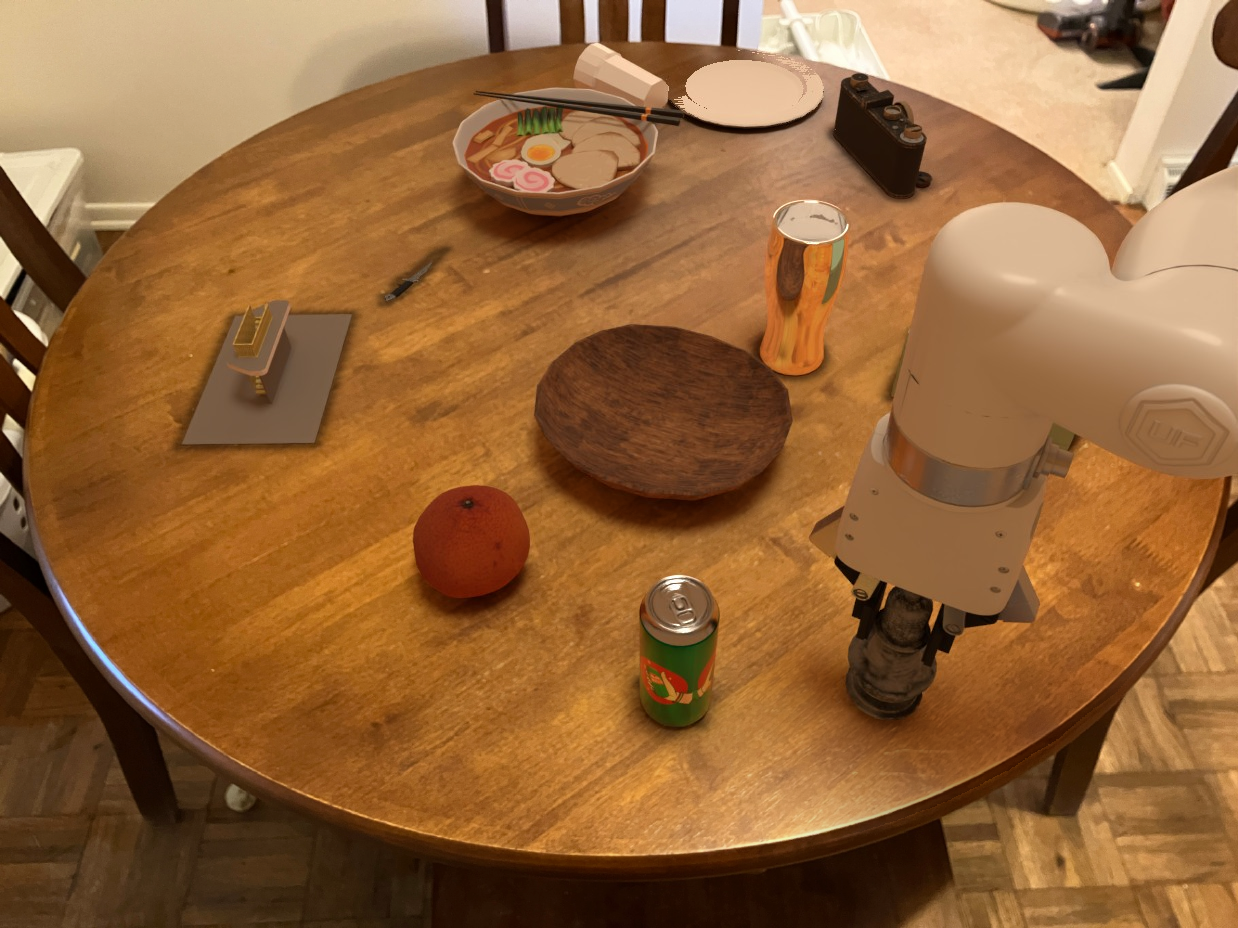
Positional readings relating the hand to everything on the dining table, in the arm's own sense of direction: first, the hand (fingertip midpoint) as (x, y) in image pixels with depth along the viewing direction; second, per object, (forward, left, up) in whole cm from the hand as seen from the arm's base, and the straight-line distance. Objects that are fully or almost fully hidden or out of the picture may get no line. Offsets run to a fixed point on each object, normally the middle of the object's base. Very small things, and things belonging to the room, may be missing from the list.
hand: (900, 633), depth 63 cm
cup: (+50, -65, -5) cm, 82 cm away
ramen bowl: (+53, -45, -8) cm, 70 cm away
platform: (+62, -6, -8) cm, 62 cm away
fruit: (+32, +4, -8) cm, 33 cm away
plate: (+43, -76, -8) cm, 88 cm away
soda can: (+13, +7, -8) cm, 16 cm away
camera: (+22, -69, -8) cm, 72 cm away
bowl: (+25, -15, -8) cm, 30 cm away
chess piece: (0, 0, -7) cm, 7 cm away
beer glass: (+19, -31, -8) cm, 37 cm away
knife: (+59, -25, -8) cm, 64 cm away
